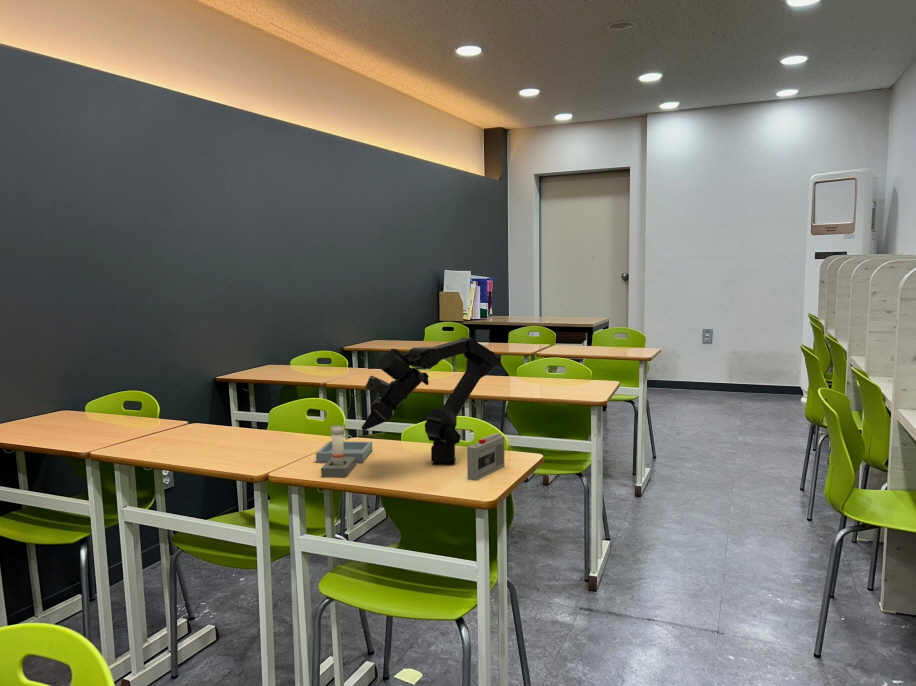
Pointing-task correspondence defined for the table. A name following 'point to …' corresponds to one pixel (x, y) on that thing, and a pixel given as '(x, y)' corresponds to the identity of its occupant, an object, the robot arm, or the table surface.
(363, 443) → the tray
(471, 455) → the cassette player
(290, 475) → the table surface
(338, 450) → the cup
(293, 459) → the table surface
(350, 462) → the block
